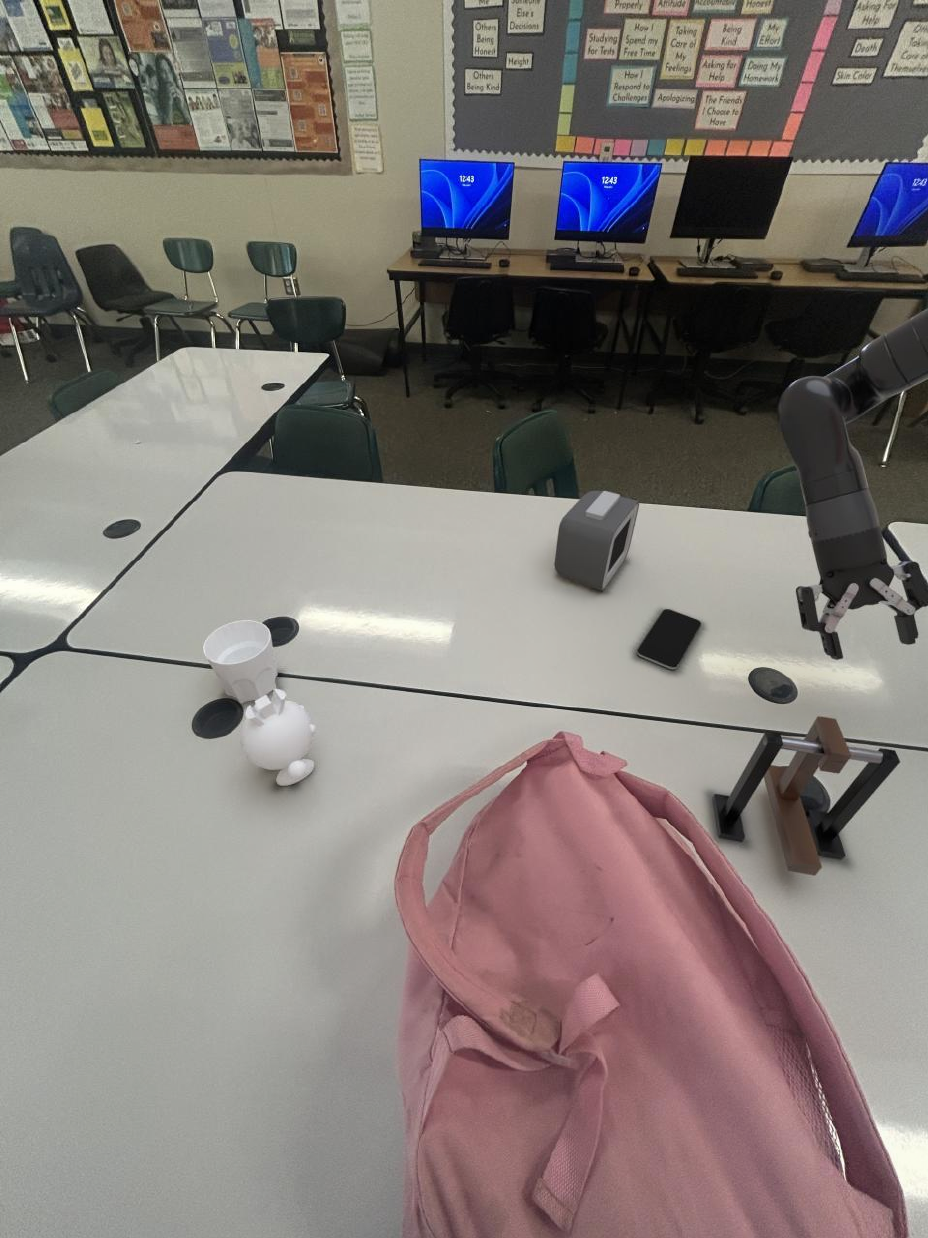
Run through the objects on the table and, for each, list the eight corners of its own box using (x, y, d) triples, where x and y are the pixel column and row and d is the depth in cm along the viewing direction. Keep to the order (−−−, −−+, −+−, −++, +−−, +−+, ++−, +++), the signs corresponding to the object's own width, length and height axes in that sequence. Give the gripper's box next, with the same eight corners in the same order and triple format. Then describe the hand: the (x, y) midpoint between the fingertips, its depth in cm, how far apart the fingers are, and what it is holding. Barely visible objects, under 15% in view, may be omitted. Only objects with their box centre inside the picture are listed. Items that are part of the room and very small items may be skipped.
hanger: (785, 777, 76) (832, 699, 67) (815, 876, 66) (875, 799, 56) (762, 773, 77) (805, 695, 67) (787, 871, 66) (843, 794, 57)
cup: (296, 678, 95) (284, 635, 88) (248, 717, 89) (231, 673, 82) (256, 655, 99) (242, 612, 93) (208, 690, 93) (189, 647, 86)
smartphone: (703, 621, 105) (676, 669, 95) (702, 624, 105) (675, 671, 96) (664, 607, 108) (635, 652, 98) (663, 610, 108) (634, 654, 99)
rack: (828, 816, 76) (894, 735, 64) (842, 859, 71) (915, 780, 60) (712, 797, 78) (755, 715, 66) (718, 837, 73) (765, 757, 62)
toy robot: (343, 787, 79) (326, 720, 69) (278, 824, 75) (250, 759, 65) (300, 719, 88) (279, 651, 79) (239, 749, 84) (210, 681, 74)
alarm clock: (600, 596, 112) (613, 528, 101) (548, 578, 116) (556, 512, 106) (627, 556, 122) (642, 491, 112) (579, 541, 127) (589, 477, 116)
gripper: (797, 544, 71) (826, 668, 71) (922, 512, 68) (952, 642, 69) (775, 546, 78) (802, 659, 79) (887, 518, 75) (915, 634, 76)
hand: (872, 651), depth 74 cm, fingers open, 8 cm apart
